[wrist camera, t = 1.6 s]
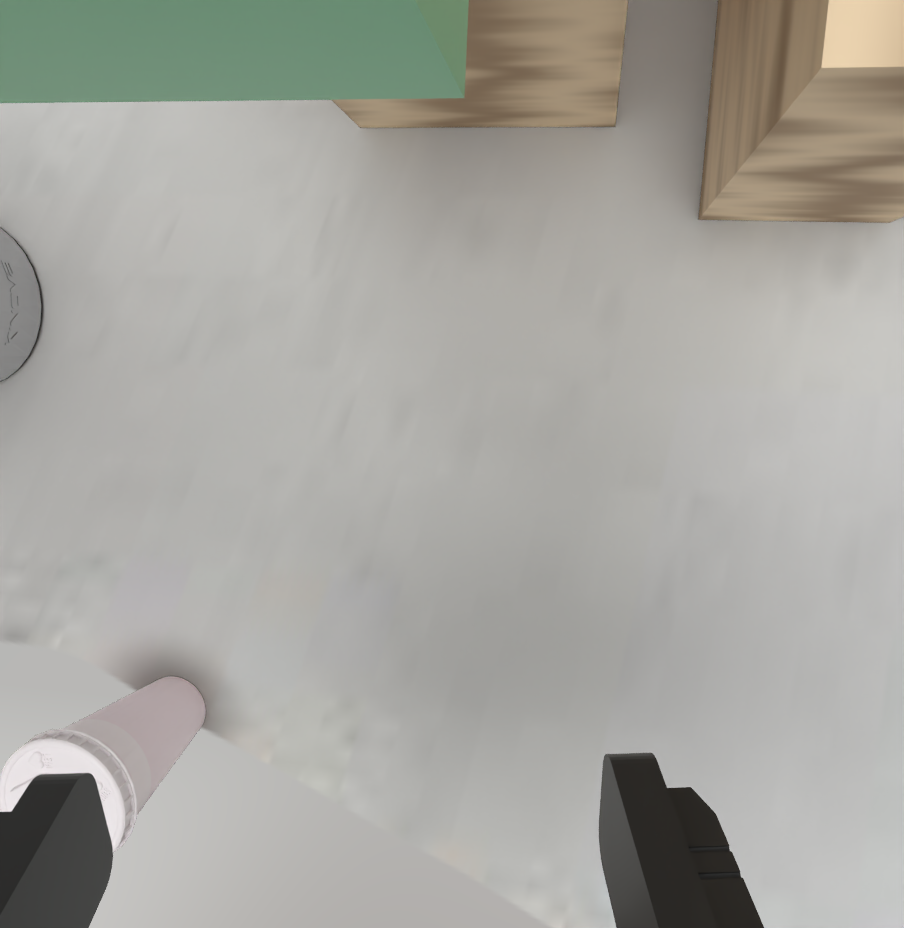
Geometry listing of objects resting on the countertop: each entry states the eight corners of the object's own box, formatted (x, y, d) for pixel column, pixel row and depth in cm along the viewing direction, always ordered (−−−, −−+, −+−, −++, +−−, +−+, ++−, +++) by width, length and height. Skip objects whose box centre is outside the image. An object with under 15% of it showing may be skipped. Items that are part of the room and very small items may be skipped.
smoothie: (133, 638, 43) (-80, 772, 29) (238, 672, 42) (68, 826, 28) (115, 740, 44) (-97, 913, 31) (217, 775, 43) (45, 970, 30)
